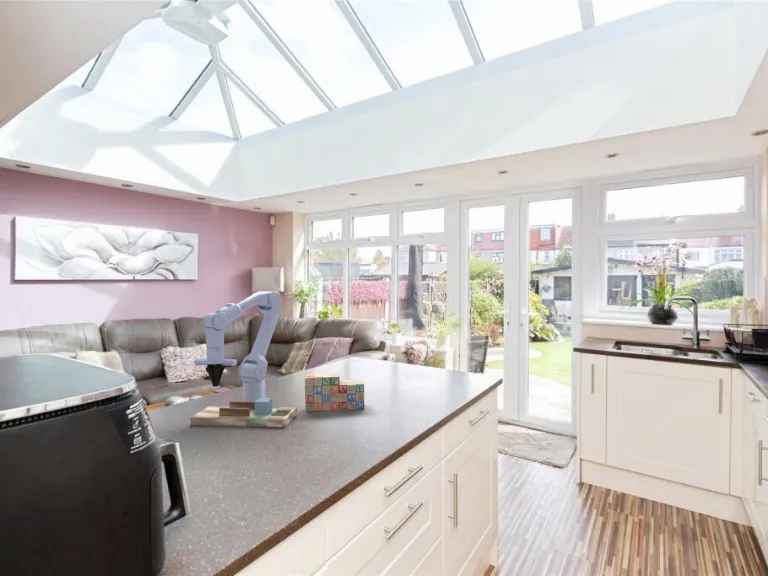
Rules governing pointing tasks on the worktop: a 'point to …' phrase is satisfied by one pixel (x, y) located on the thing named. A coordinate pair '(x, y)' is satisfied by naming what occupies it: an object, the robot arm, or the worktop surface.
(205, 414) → the board
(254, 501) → the worktop surface
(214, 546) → the worktop surface
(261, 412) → the block
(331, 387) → the stack of blocks
